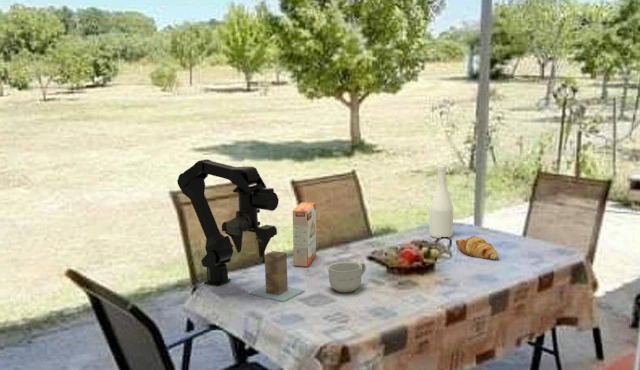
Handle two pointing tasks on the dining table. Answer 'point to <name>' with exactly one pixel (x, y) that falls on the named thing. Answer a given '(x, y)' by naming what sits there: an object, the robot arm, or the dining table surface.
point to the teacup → (346, 275)
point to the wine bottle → (441, 208)
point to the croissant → (477, 248)
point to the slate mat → (282, 298)
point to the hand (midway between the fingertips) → (250, 254)
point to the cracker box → (304, 234)
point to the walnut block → (276, 272)
